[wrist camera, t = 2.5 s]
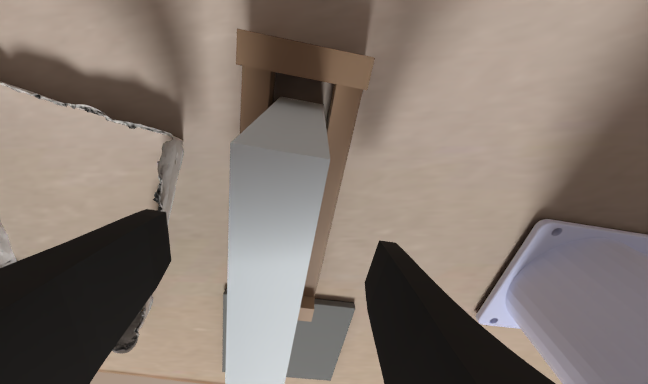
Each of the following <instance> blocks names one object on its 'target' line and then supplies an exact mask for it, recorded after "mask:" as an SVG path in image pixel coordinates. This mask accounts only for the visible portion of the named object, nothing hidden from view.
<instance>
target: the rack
mask: <svg viewBox="0 0 648 384" xmlns="http://www.w3.org/2000/svg"><path fill="white" fill-rule="evenodd" d="M374 59H375V58H373V57H369V56H364V55H359V54H355V53H350V52H345V51H340V50H336V49H331V48H326V47H321V46H317V45H312V44H307V43H303V42H298V41H293V40H288V39H284V38H279V37H274V36H269V35H265V34H260V33H255V32H250V31H246V30H241V29H237V49H236V64H237V65H242V91H241V117H240V134H241V133H242V132H243V131H244V130H245V129H246V128H247V127H248V126H249V125H250V124H252V123H253V122H254V121H255V120H256V119H257V118H258V117H259V116H260V115H261V114H262V113H264V112H265V111H266V110H267V109H268V108H269V107H270V106H271V105H272V104H273V95H274V84H275V73H276V72H277V73H282V74H287V75H293V76H298V77H303V78H308V79H313V80H318V81H323V82H328V83H333V84H334V88H333V94H332V99H331V105H330V110H329V115H328V121H327V126H326V130H327V137H328V145H329V153H330V164H329V169H328V173H327V178H326V183H325V188H324V193H323V198H322V203H321V208H320V213H319V218H318V222H317V227H316V232H315V237H314V242H313V247H312V252H311V257H310V262H309V267H308V271H307V276H306V281H305V286H304V291H303V296H302V301H301V306H300V311H299V316H298V320H299V321H308V322H311V321H312V317H313V313H314V297H315V293H316V288H317V284H318V280H319V276H320V271H321V267H322V263H323V258H324V254H325V250H326V246H327V241H328V237H329V233H330V229H331V224H332V220H333V216H334V211H335V207H336V203H337V199H338V194H339V190H340V186H341V182H342V177H343V173H344V169H345V164H346V160H347V156H348V152H349V147H350V143H351V139H352V134H353V130H354V126H355V122H356V117H357V113H358V109H359V105H360V100H361V96H362V92H363V90H367V88H368V84H369V80H370V76H371V72H372V67H373V63H374Z"/></svg>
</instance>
